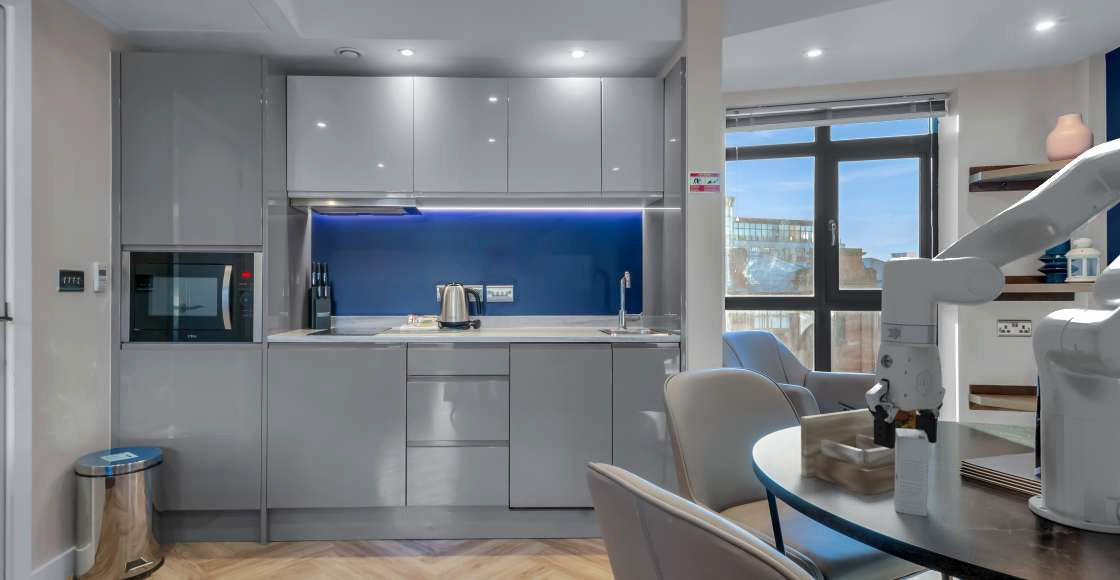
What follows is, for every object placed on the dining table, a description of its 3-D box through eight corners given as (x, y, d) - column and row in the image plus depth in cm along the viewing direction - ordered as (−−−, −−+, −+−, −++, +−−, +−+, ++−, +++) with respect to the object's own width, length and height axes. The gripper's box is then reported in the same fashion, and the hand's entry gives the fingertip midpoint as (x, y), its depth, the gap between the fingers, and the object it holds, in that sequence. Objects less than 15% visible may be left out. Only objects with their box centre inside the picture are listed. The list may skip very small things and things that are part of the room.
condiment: (892, 444, 128) (891, 390, 128) (874, 434, 136) (874, 384, 136) (926, 444, 127) (925, 391, 127) (906, 435, 135) (906, 384, 135)
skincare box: (893, 500, 94) (892, 426, 94) (925, 504, 91) (924, 429, 92) (895, 513, 88) (895, 435, 88) (930, 518, 86) (929, 438, 86)
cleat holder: (929, 481, 102) (928, 420, 102) (858, 497, 95) (858, 431, 95) (860, 460, 115) (860, 406, 115) (793, 472, 108) (793, 415, 108)
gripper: (893, 338, 83) (890, 455, 83) (967, 337, 90) (964, 445, 90) (848, 334, 90) (845, 442, 90) (920, 333, 97) (918, 433, 97)
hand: (905, 443), depth 90 cm, fingers open, 9 cm apart
